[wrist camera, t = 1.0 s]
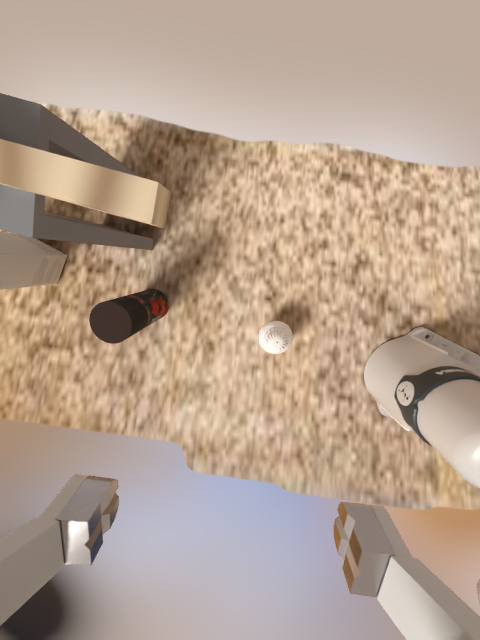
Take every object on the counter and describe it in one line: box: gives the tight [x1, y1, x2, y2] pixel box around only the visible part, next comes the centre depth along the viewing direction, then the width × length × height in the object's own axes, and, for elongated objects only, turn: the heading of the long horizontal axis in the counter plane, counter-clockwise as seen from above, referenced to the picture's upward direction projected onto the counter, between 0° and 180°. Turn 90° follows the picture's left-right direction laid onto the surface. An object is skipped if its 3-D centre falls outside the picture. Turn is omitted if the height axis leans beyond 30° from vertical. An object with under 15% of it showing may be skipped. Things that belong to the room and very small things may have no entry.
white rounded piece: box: [259, 321, 293, 354], centre depth 46 cm, size 6×6×7 cm
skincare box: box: [0, 232, 67, 290], centre depth 41 cm, size 8×7×16 cm
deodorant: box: [89, 289, 168, 343], centre depth 42 cm, size 6×6×15 cm
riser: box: [0, 93, 154, 250], centre depth 32 cm, size 10×10×28 cm
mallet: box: [0, 139, 171, 229], centre depth 18 cm, size 20×5×5 cm, turn 75°
